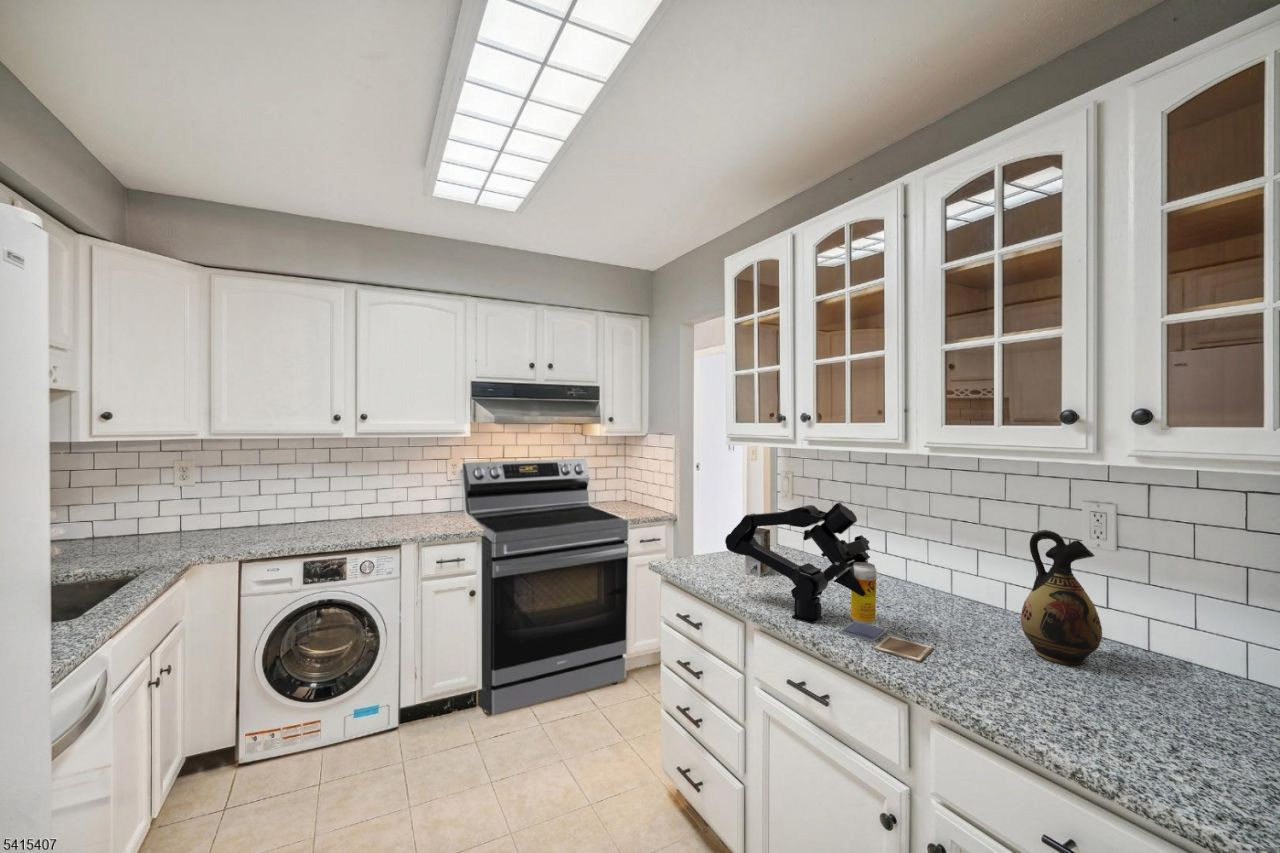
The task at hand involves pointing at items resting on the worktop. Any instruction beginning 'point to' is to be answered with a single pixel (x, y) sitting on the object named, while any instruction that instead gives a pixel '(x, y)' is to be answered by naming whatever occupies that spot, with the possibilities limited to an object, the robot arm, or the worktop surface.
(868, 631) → the ink pad
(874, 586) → the beer can
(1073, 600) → the ceramic jug
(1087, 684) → the worktop surface
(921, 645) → the marked square
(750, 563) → the coffee box
